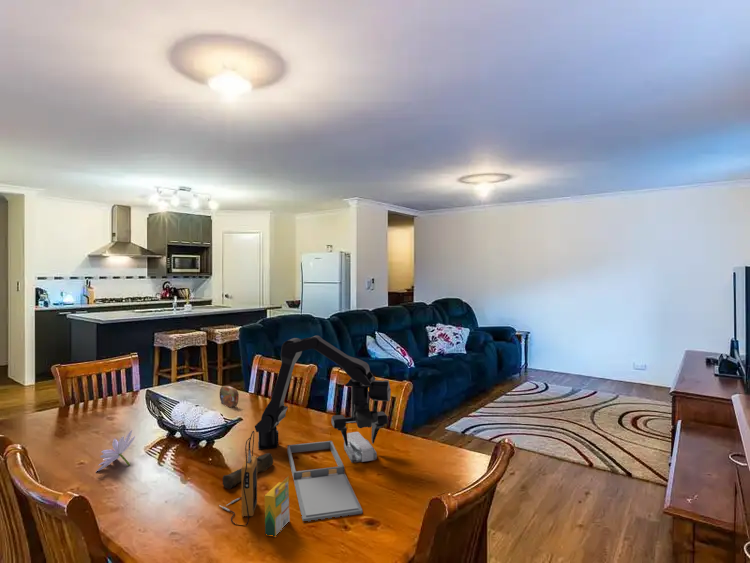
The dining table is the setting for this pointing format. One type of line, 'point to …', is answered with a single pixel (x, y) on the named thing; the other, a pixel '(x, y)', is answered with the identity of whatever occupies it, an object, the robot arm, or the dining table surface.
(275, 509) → the crayon box
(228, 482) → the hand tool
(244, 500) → the multimeter
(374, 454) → the stay bracket
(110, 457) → the lavender daisy flower
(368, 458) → the white square bar
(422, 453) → the dining table surface
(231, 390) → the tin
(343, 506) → the case
